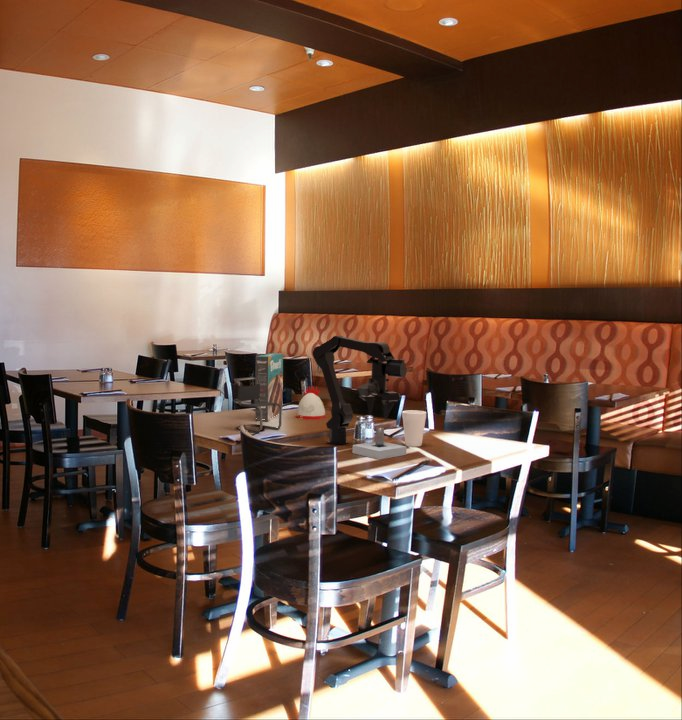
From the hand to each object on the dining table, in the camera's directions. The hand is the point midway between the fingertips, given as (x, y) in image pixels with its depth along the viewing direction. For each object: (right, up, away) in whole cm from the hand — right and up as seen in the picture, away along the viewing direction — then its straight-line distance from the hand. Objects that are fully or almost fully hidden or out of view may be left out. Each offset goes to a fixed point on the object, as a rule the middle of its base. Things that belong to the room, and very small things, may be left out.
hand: (377, 416), depth 291 cm
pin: (0, -13, -10) cm, 16 cm away
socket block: (0, -13, -10) cm, 16 cm away
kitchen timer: (-28, -6, +76) cm, 81 cm away
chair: (-50, -9, +38) cm, 63 cm away
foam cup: (+14, -12, +9) cm, 21 cm away
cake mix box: (-48, -6, +71) cm, 86 cm away
